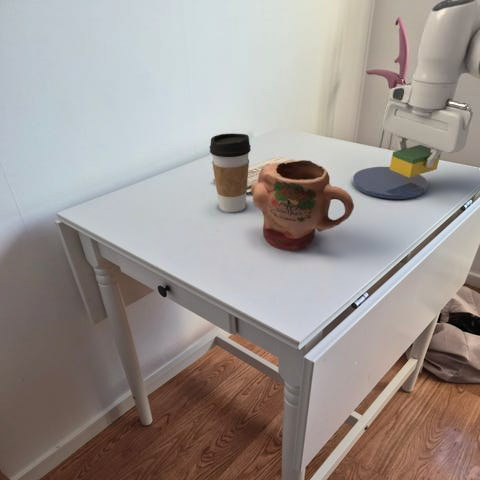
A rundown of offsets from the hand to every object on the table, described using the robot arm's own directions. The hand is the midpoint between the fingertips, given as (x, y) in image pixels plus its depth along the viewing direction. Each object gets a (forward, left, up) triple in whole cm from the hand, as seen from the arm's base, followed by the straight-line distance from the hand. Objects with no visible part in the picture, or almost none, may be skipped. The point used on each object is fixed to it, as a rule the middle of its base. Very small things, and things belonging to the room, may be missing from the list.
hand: (414, 161), depth 97 cm
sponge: (0, 0, -2) cm, 2 cm away
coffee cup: (+41, -14, -6) cm, 43 cm away
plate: (+4, -3, -6) cm, 7 cm away
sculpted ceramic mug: (+38, +6, -6) cm, 39 cm away
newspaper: (+26, -24, -6) cm, 36 cm away
